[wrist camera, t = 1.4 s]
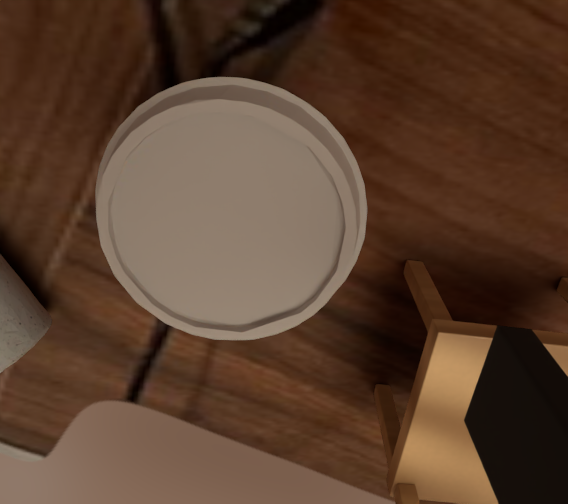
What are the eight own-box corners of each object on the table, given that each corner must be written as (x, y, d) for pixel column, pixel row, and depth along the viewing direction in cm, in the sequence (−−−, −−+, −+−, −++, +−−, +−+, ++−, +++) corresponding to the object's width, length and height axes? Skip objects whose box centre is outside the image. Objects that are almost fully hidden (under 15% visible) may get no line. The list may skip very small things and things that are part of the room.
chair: (403, 255, 30) (534, 544, 13) (582, 276, 30) (922, 582, 14) (369, 396, 34) (435, 736, 18) (524, 412, 35) (725, 761, 18)
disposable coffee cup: (165, 215, 29) (87, 334, 18) (171, 41, 25) (73, 59, 14) (325, 237, 29) (343, 366, 18) (357, 68, 25) (403, 106, 14)
